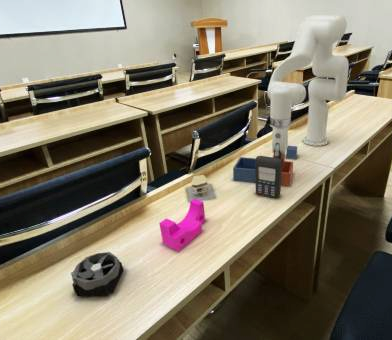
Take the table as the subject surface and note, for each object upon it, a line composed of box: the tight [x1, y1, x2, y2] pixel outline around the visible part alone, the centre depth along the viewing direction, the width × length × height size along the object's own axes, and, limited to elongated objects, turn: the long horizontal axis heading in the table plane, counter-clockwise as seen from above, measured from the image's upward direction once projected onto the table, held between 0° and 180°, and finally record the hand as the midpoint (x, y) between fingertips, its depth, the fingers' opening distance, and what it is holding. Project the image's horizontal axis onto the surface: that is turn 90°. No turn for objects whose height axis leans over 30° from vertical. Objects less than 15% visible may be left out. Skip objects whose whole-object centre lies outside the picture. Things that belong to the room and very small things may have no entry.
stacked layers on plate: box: [186, 174, 215, 203], centre depth 115 cm, size 10×9×6 cm
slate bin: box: [232, 156, 256, 184], centre depth 126 cm, size 11×11×6 cm
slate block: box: [285, 145, 298, 160], centre depth 142 cm, size 4×4×4 cm
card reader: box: [254, 155, 282, 199], centre depth 110 cm, size 9×4×15 cm, turn 68°
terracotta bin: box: [281, 160, 294, 187], centre depth 123 cm, size 11×11×6 cm
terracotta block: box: [272, 153, 286, 169], centre depth 121 cm, size 4×4×4 cm
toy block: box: [158, 199, 206, 252], centre depth 93 cm, size 15×6×8 cm, turn 147°
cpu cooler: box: [70, 251, 124, 298], centre depth 77 cm, size 10×6×10 cm
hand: (278, 165), depth 122 cm, fingers closed on terracotta block, 4 cm apart
